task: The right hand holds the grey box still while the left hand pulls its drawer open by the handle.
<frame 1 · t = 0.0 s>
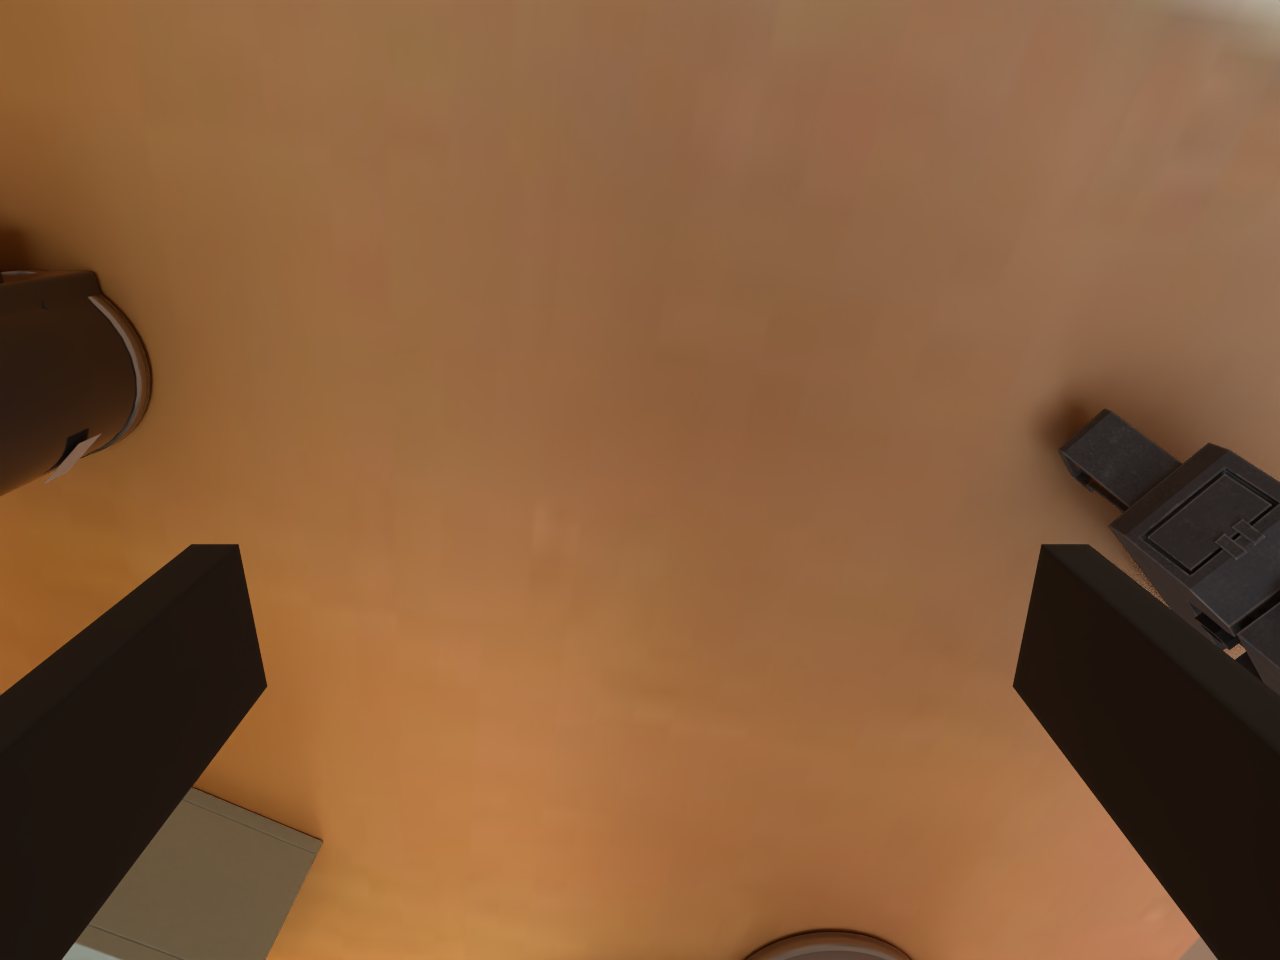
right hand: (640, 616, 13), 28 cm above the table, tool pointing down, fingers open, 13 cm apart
grey box: (197, 860, 52), on the table
tool: (1165, 531, 43), on the table
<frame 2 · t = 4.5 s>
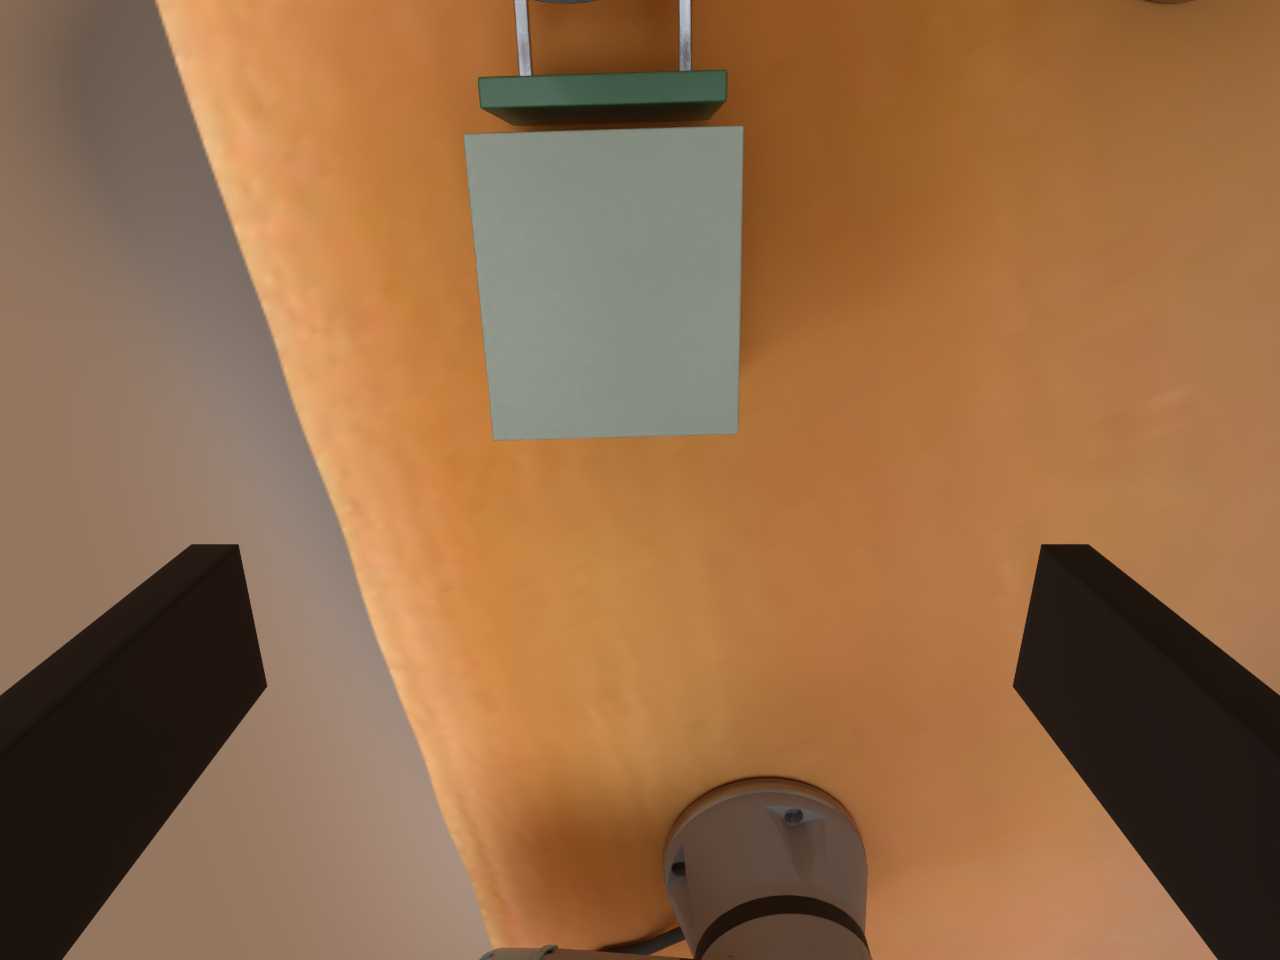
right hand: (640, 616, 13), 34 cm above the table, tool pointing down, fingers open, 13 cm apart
grey box: (616, 270, 44), on the table
drawer: (609, 154, 37), point 5 cm above the table, slide at 1.0 cm
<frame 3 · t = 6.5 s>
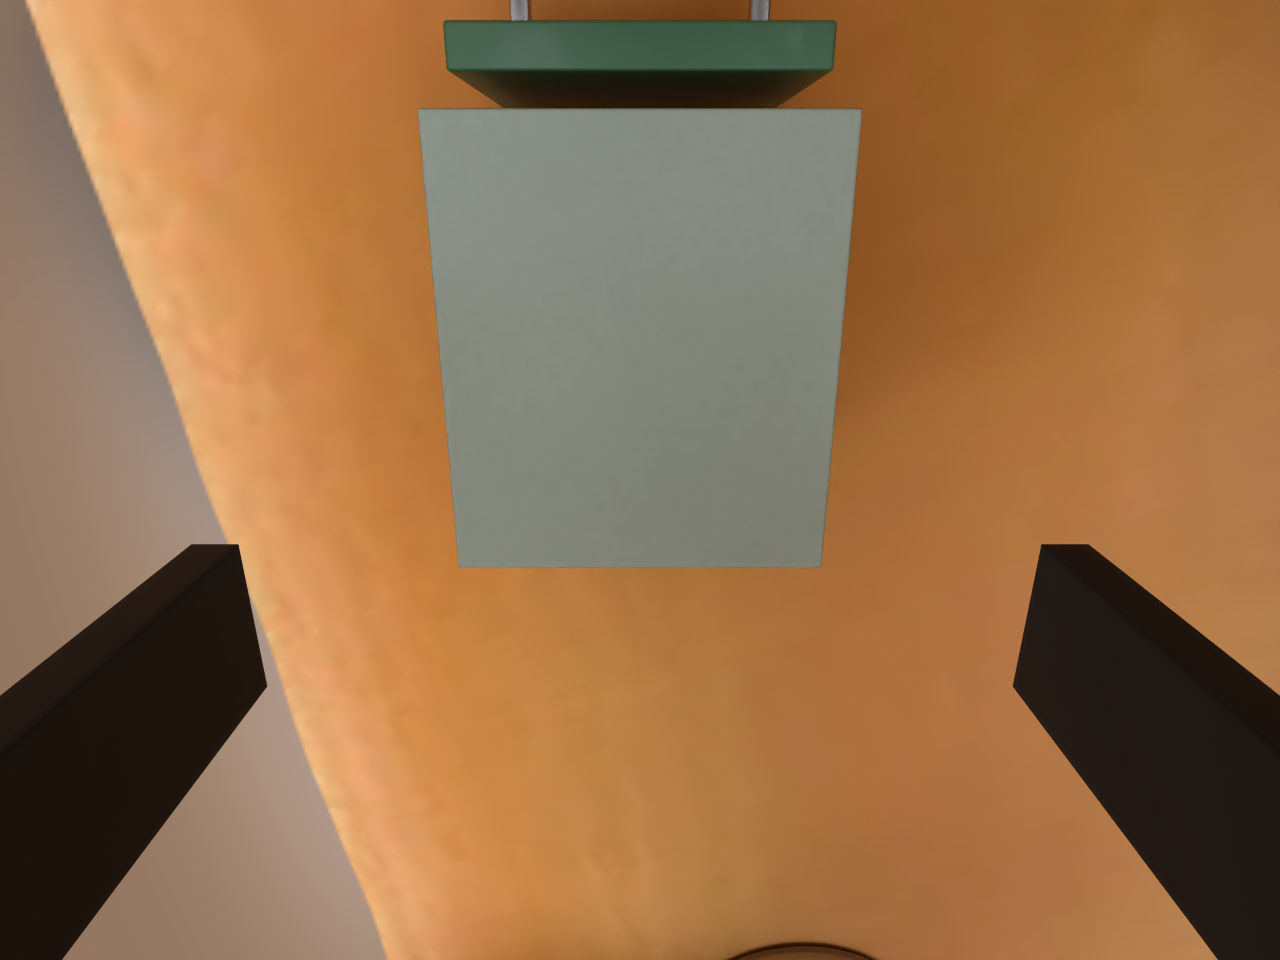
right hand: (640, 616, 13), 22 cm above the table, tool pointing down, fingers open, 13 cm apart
grey box: (639, 310, 32), on the table
drawer: (639, 150, 25), point 5 cm above the table, slide at 1.0 cm
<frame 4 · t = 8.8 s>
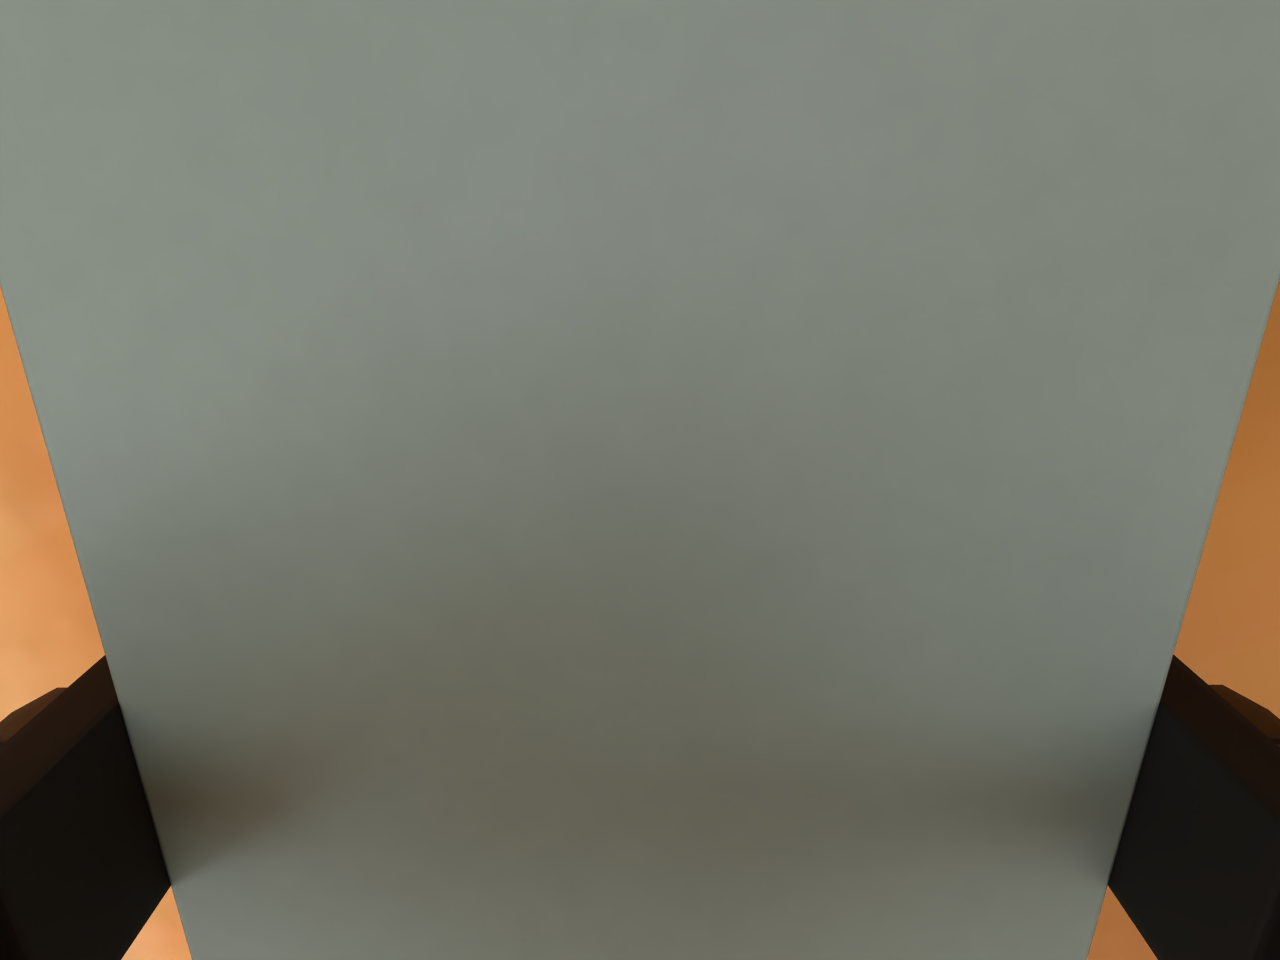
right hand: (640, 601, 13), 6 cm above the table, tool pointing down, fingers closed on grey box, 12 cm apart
grey box: (639, 383, 18), on the table, touching right hand
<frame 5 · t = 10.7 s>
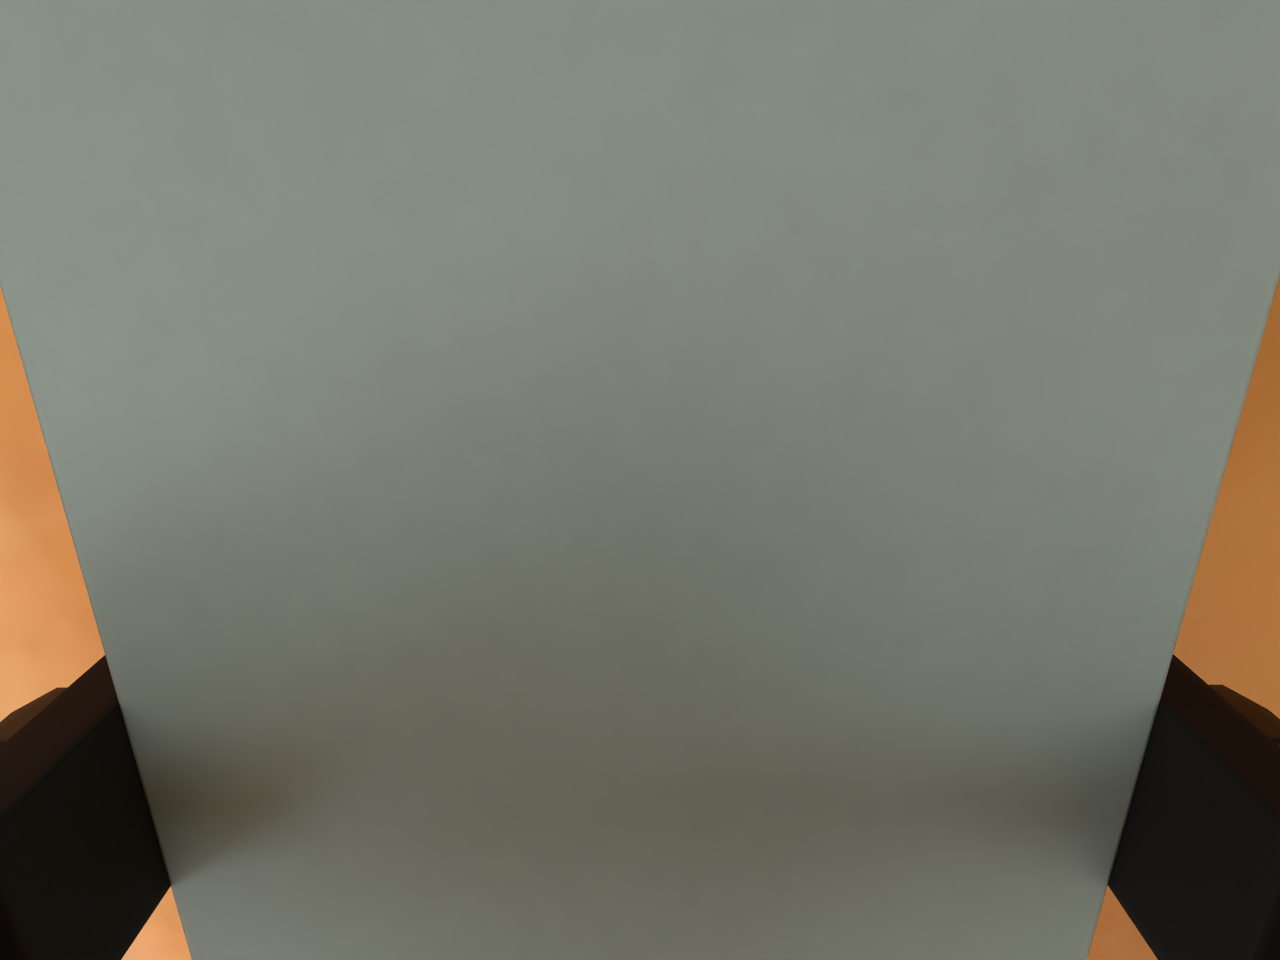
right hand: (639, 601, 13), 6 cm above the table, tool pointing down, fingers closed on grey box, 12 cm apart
grey box: (639, 384, 18), on the table, touching right hand
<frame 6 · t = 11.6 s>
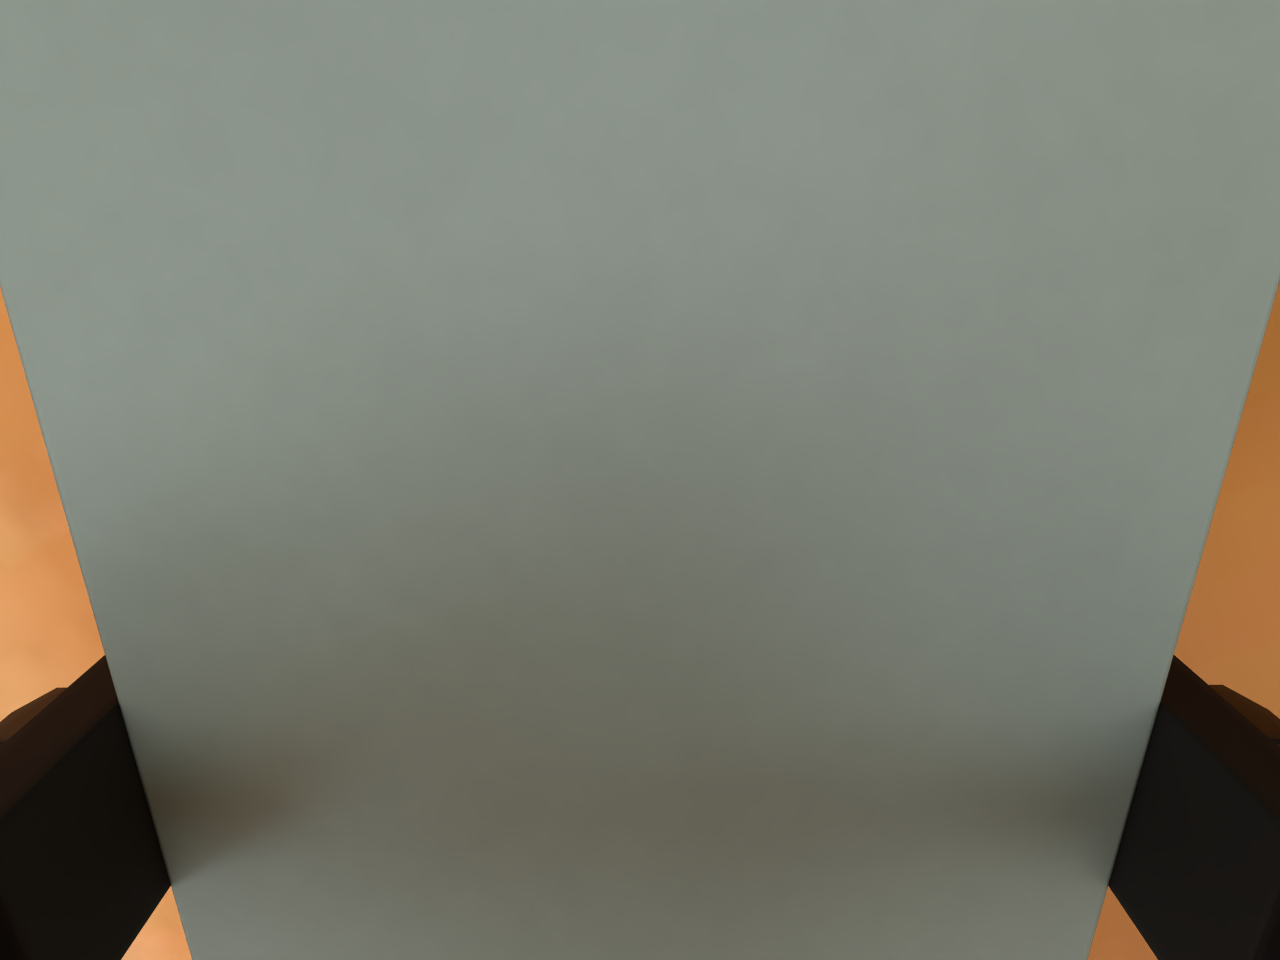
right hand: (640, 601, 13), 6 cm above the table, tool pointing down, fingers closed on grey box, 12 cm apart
grey box: (639, 383, 18), on the table, touching right hand
when the right hand's fingers open (6 cm above the table, at t = 13.3 s): grey box stays where it is, on the table.
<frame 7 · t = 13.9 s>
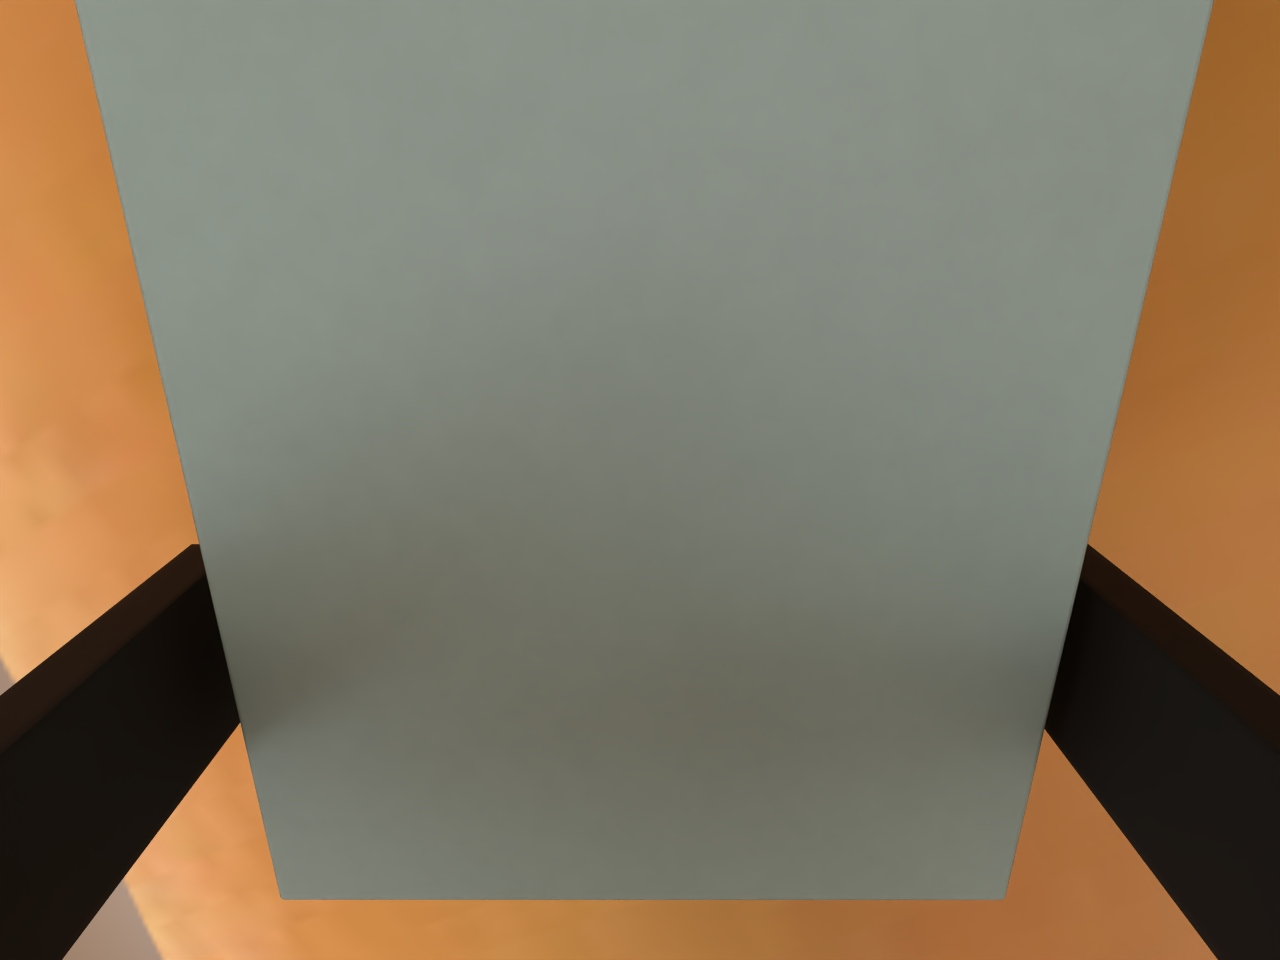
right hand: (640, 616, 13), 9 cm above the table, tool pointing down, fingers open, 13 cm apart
grey box: (641, 348, 20), on the table
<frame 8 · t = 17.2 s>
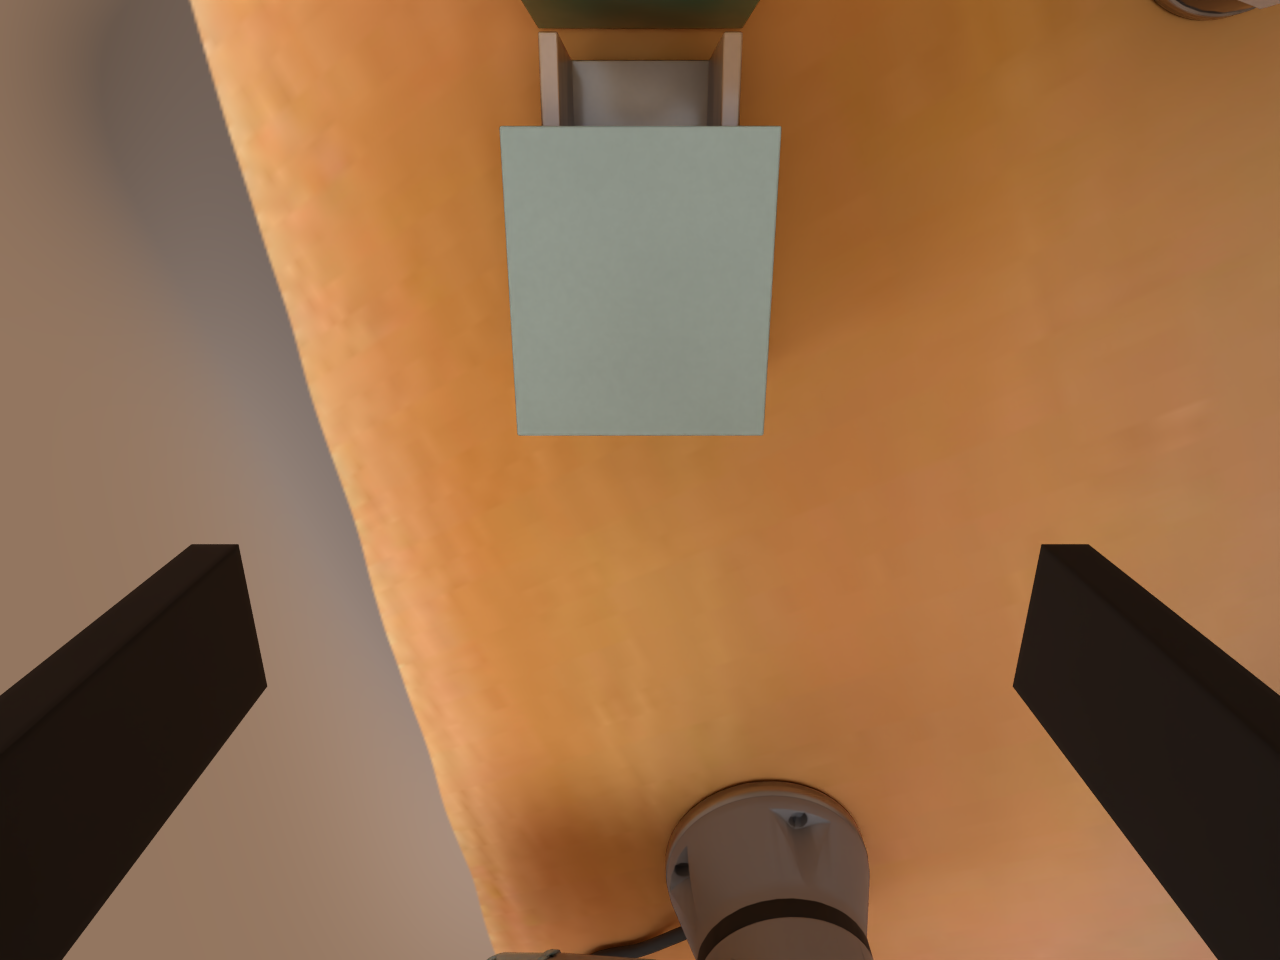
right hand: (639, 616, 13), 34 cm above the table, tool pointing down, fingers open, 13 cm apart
grey box: (640, 268, 44), on the table
drawer: (640, 52, 35), point 5 cm above the table, slide at 5.2 cm
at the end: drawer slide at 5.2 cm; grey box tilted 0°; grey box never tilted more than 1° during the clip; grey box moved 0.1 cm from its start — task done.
